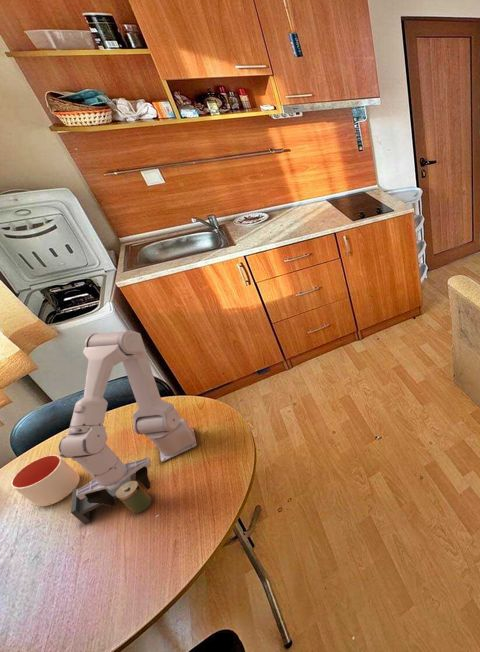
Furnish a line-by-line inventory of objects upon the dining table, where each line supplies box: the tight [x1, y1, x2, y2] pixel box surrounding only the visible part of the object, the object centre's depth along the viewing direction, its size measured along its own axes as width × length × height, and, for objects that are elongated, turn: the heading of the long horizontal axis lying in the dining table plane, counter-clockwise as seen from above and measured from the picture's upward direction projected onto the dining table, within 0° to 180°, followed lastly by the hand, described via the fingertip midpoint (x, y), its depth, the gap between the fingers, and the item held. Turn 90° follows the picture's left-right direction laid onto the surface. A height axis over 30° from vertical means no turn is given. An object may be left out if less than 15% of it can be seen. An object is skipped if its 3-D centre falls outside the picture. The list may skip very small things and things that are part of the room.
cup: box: [10, 454, 81, 507], centre depth 104 cm, size 10×10×10 cm
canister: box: [116, 481, 152, 514], centre depth 101 cm, size 5×5×8 cm
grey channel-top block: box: [70, 473, 139, 525], centre depth 103 cm, size 12×8×6 cm, turn 128°
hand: (131, 494), depth 100 cm, fingers open, 7 cm apart
